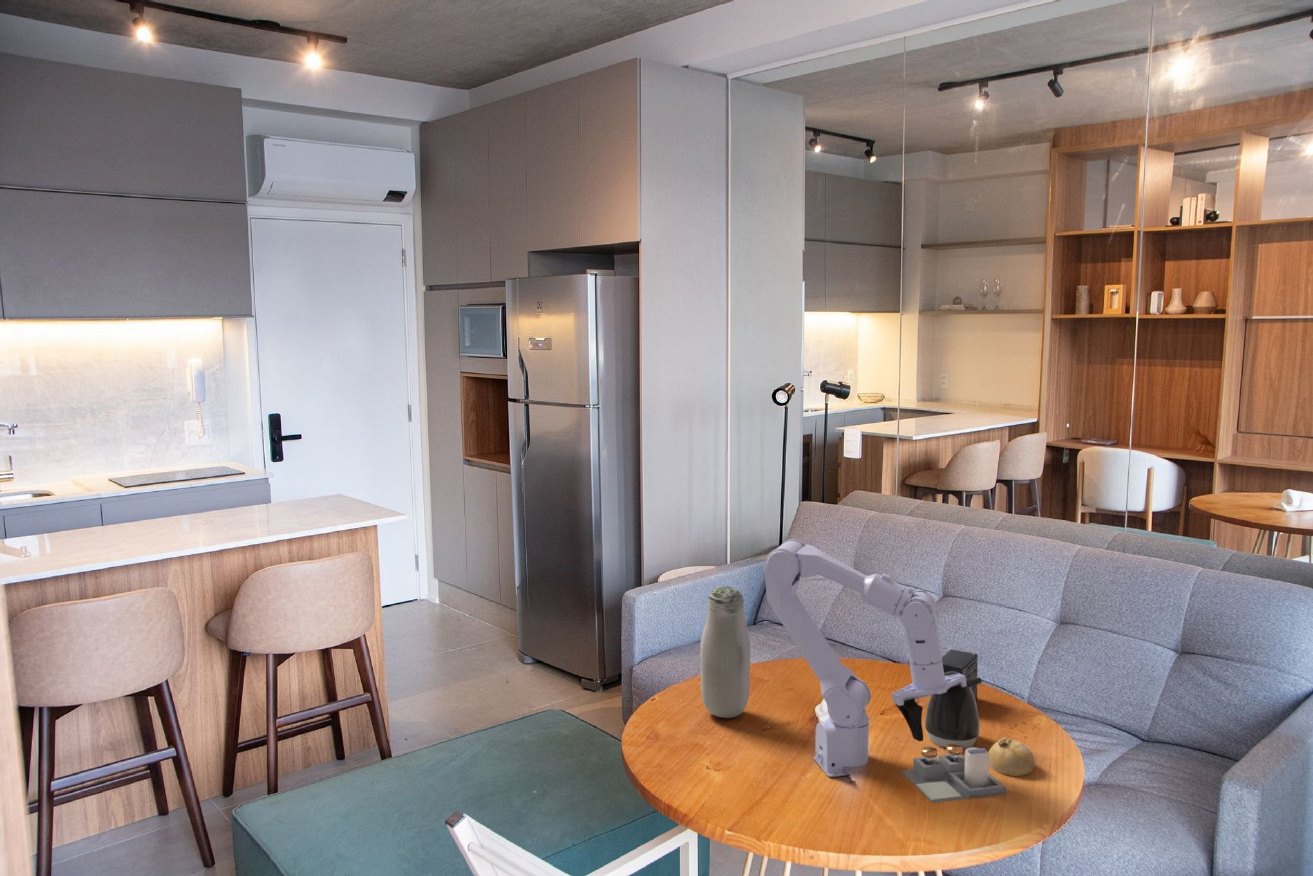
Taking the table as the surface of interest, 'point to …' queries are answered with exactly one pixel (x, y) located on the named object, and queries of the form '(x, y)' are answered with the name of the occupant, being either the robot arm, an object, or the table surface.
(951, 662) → the small box
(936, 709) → the pump dispenser
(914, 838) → the table surface
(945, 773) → the housing
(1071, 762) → the table surface
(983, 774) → the disc
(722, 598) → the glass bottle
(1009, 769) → the onion
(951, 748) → the plunger
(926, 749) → the plunger
